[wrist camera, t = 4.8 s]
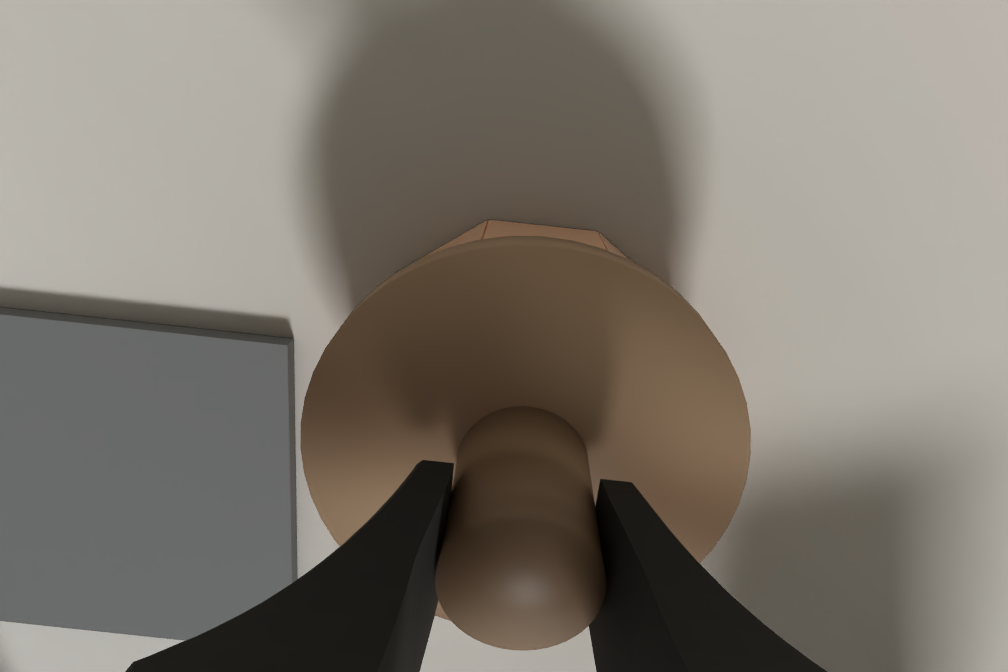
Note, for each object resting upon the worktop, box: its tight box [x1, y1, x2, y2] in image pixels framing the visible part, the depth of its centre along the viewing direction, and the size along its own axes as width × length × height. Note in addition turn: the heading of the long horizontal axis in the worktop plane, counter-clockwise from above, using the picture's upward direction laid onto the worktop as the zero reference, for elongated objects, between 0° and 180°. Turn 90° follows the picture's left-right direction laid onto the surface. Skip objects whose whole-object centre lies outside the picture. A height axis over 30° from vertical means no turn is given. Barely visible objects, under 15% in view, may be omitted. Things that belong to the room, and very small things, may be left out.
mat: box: [0, 307, 297, 640], centre depth 20 cm, size 11×11×1 cm
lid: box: [301, 236, 751, 650], centre depth 13 cm, size 10×10×4 cm
